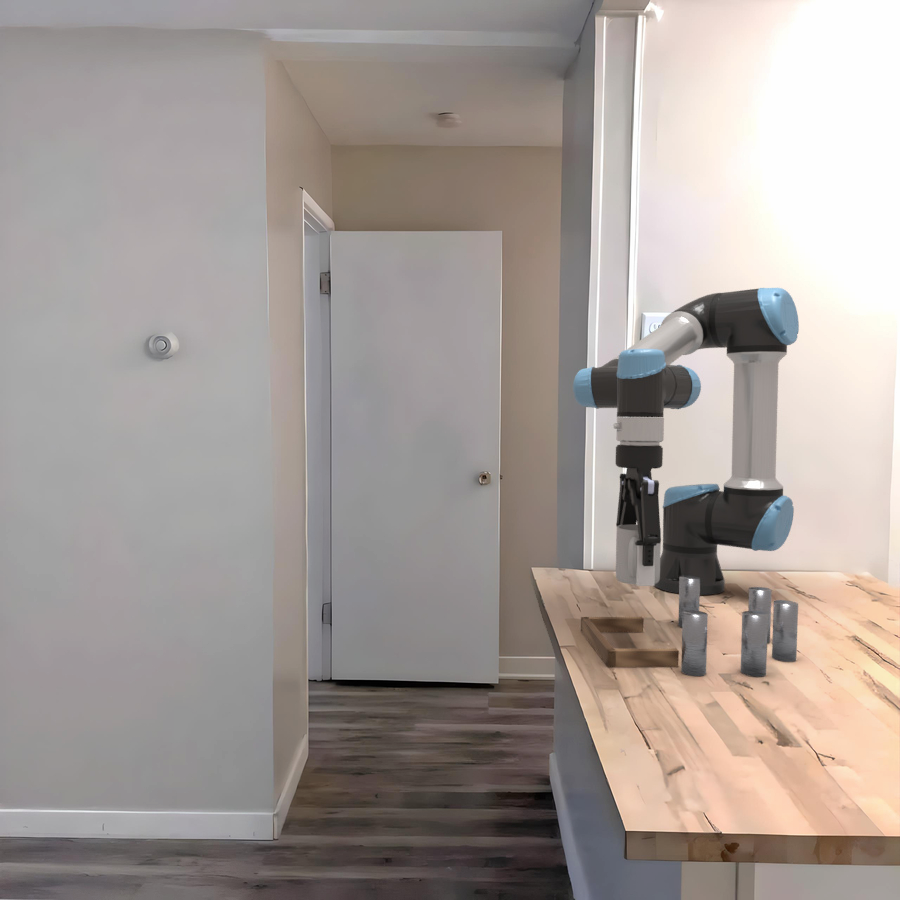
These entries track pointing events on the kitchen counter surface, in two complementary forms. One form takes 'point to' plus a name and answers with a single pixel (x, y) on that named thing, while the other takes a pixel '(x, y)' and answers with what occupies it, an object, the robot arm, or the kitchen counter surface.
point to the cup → (631, 554)
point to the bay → (625, 657)
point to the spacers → (752, 630)
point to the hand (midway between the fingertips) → (636, 578)
